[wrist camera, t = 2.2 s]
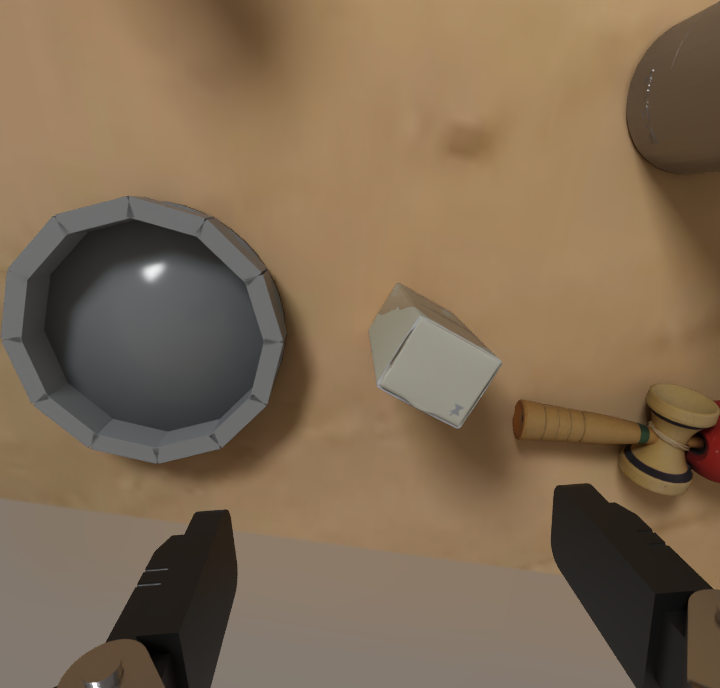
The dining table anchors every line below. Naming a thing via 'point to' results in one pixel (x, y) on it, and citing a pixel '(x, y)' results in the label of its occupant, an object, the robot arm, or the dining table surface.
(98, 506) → the dining table surface
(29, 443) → the dining table surface
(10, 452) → the dining table surface
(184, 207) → the round tray
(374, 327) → the box
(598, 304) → the dining table surface
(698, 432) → the kendama
